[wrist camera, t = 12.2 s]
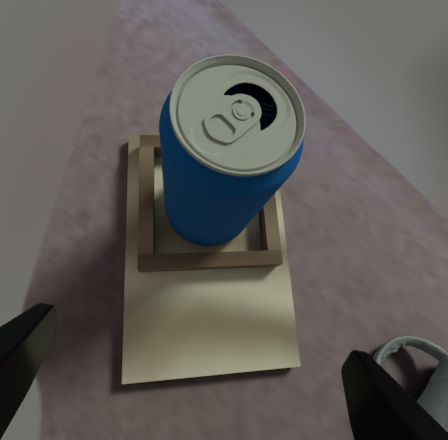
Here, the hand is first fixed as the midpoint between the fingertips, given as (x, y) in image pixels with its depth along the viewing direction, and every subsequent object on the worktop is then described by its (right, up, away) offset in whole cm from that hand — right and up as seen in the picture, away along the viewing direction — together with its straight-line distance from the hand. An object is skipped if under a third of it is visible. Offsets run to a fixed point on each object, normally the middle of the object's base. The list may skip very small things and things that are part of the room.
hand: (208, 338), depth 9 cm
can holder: (-1, +2, +15) cm, 15 cm away
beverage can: (-1, +4, +15) cm, 15 cm away
